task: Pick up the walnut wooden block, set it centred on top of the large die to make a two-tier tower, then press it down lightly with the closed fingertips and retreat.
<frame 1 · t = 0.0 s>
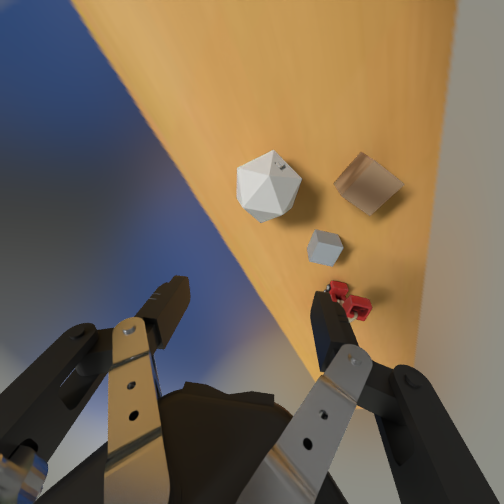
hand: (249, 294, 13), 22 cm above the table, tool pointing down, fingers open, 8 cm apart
toy fire truck: (332, 289, 43), on the table
slate block: (321, 241, 36), on the table
walnut block: (359, 178, 29), on the table
die: (268, 179, 31), on the table
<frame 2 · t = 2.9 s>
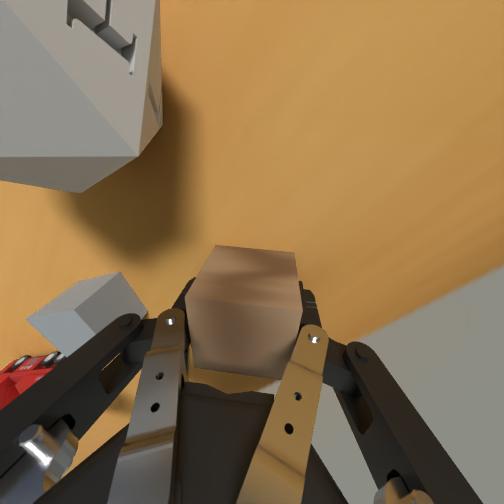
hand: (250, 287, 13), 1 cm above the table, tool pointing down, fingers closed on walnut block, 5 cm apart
toy fire truck: (71, 358, 22), on the table
slate block: (115, 295, 16), on the table
walnut block: (252, 280, 14), on the table, touching gripper
die: (111, 79, 10), on the table
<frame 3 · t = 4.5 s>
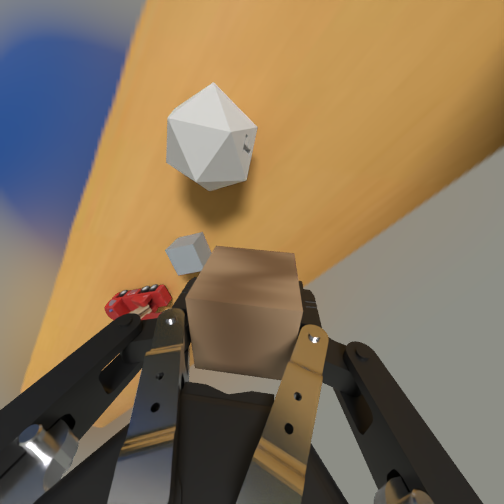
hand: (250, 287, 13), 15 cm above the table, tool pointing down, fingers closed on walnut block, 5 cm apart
toy fire truck: (154, 291, 36), on the table
slate block: (195, 246, 30), on the table
walnut block: (252, 281, 14), point 14 cm above the table, touching gripper
die: (220, 144, 24), on the table
when the fingers open (9 cm above the table, at t = 6.5 s): walnut block drops 1 cm, resting on die.
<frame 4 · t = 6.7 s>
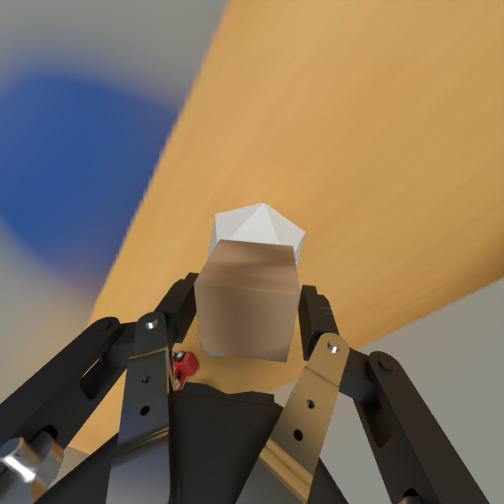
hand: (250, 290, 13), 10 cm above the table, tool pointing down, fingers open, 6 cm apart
toy fire truck: (180, 356, 34), on the table
walnut block: (254, 272, 15), point 8 cm above the table, touching die
die: (258, 233, 22), on the table, touching walnut block
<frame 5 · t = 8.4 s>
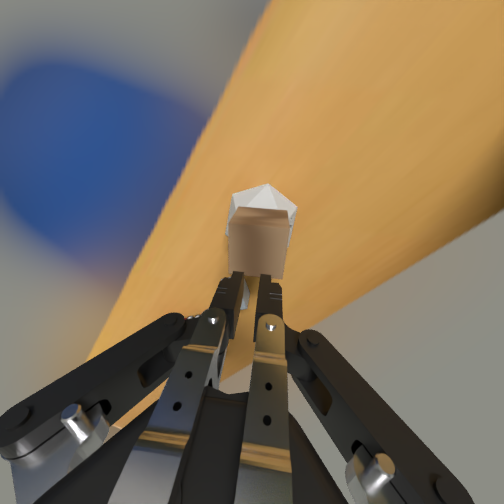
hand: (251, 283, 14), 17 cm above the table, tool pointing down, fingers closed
slate block: (235, 285, 36), on the table
walnut block: (260, 230, 22), point 8 cm above the table, touching die
die: (262, 211, 29), on the table, touching walnut block
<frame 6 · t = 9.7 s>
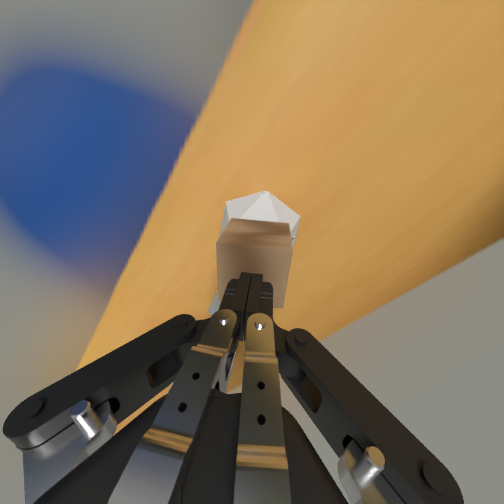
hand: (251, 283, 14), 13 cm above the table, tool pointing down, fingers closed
slate block: (231, 299, 33), on the table
walnut block: (258, 246, 19), point 8 cm above the table, touching die
die: (261, 219, 26), on the table, touching walnut block
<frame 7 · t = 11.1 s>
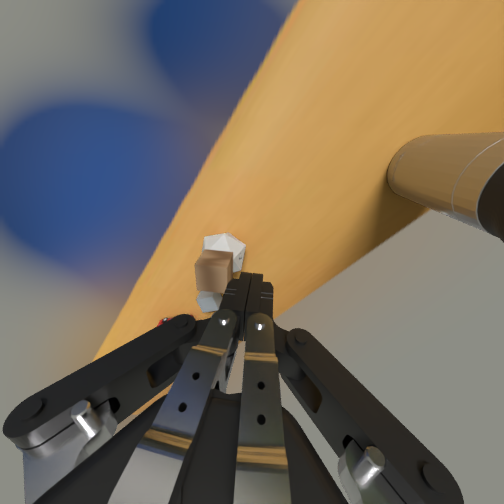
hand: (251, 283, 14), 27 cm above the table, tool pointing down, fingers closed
slate block: (212, 293, 50), on the table
walnut block: (219, 262, 36), point 8 cm above the table, touching die
die: (227, 244, 43), on the table, touching walnut block
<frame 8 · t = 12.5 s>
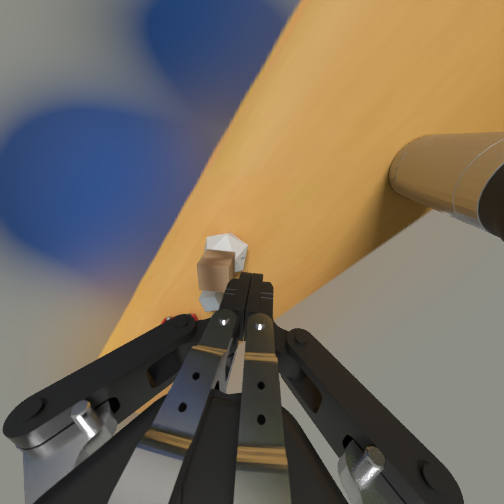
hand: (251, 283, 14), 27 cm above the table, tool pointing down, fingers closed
slate block: (214, 293, 50), on the table
walnut block: (221, 262, 37), point 8 cm above the table, touching die
die: (229, 244, 44), on the table, touching walnut block
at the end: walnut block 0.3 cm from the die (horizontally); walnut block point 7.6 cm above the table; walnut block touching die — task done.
